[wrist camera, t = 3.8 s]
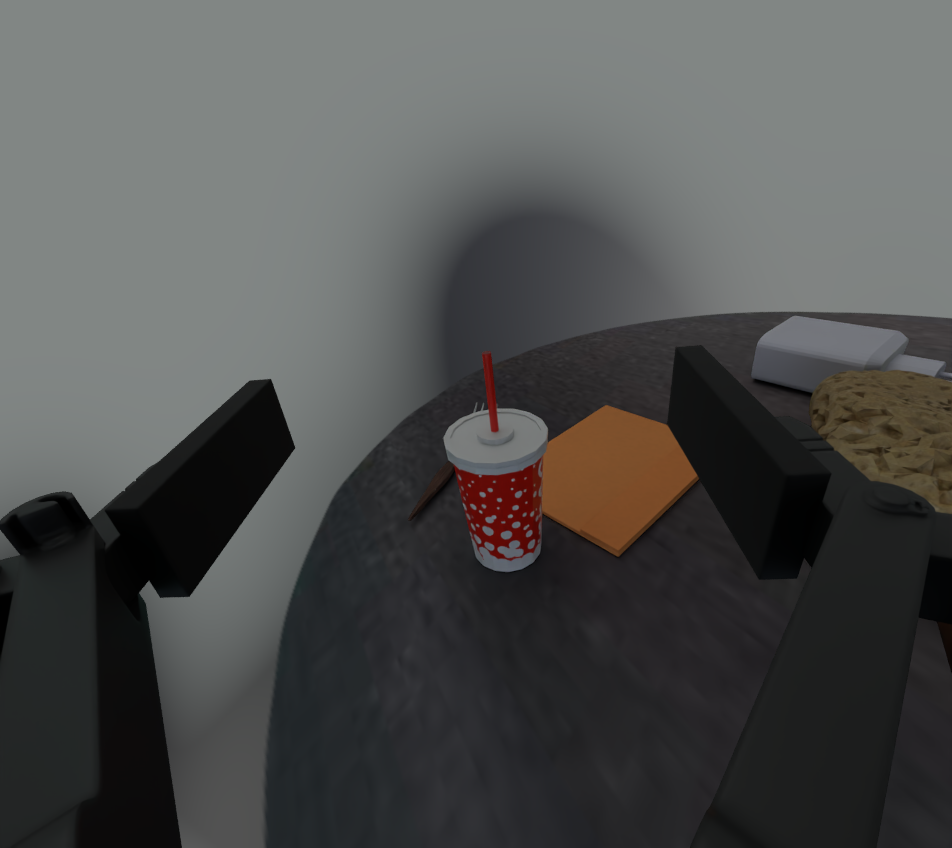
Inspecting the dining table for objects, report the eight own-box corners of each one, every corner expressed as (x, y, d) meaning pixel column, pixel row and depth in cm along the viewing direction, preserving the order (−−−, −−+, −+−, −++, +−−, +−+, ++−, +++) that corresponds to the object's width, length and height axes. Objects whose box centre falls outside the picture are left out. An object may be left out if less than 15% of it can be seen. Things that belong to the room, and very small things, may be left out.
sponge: (1035, 662, 23) (1060, 420, 32) (1070, 556, 19) (1088, 317, 29) (743, 566, 33) (828, 402, 42) (729, 484, 29) (826, 323, 38)
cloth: (606, 407, 47) (606, 402, 46) (730, 448, 39) (731, 442, 38) (489, 483, 38) (488, 477, 38) (618, 557, 30) (618, 550, 30)
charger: (944, 431, 37) (749, 382, 48) (972, 391, 42) (788, 353, 53) (968, 377, 35) (757, 337, 46) (995, 340, 40) (798, 312, 50)
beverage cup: (537, 592, 28) (522, 381, 21) (447, 568, 31) (407, 372, 24) (563, 525, 33) (558, 334, 26) (483, 508, 35) (459, 331, 29)
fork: (395, 522, 35) (389, 501, 34) (477, 419, 48) (475, 401, 47) (425, 529, 34) (420, 508, 33) (501, 421, 47) (499, 404, 46)
